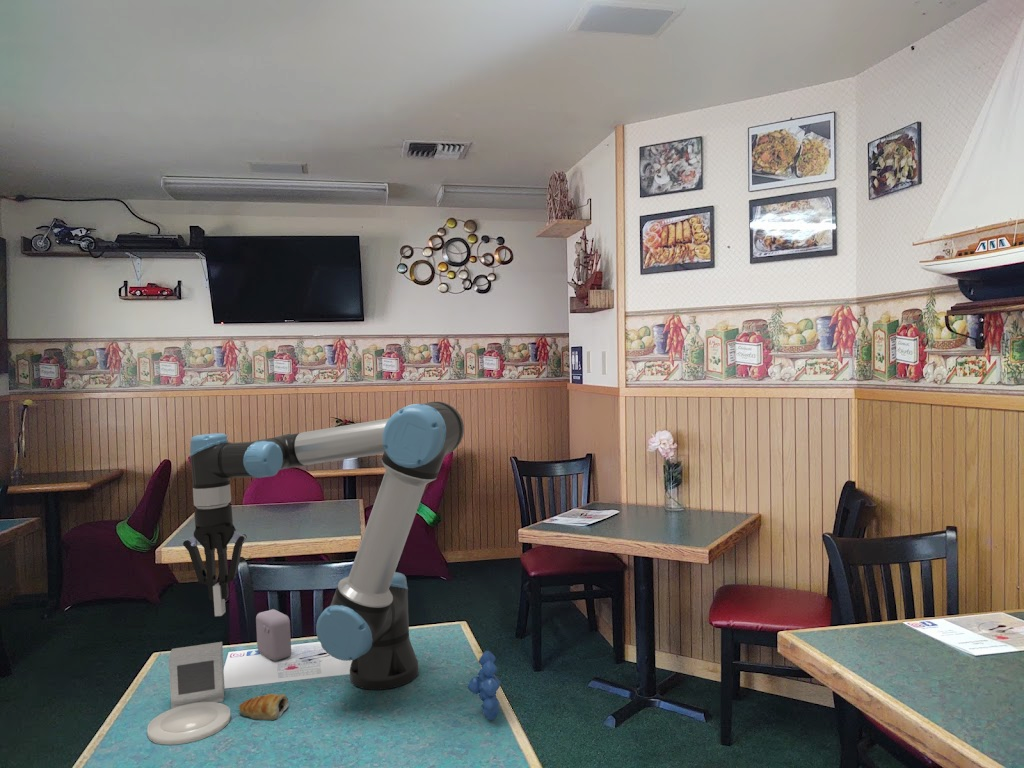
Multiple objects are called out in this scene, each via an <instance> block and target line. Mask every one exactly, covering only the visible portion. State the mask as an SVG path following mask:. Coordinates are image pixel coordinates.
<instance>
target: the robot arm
mask: <svg viewBox="0 0 1024 768" xmlns="http://www.w3.org/2000/svg"><path fill="white" fill-rule="evenodd" d="M464 425H465V424H464V420H463V418H462V416H461V414H460V413H459V411H458V410H457V409H456V408H455V407H453V406H452V405H450V404H448V403H446V402H443V401H430V402H426V403H413V404H409V405H407V406H403V408H401V409H398V410H397V411H395V412H394V413H393V414H392V415H391V416H390V417H389V418H384V419H377V420H371V421H364V422H358V423H351V424H347V425H340V426H339V425H338V426H333V427H328V428H321V429H316V430H310V431H303V432H298V433H296V432H295V433H287V434H282V435H279V436H274V437H268V438H265V439H263V438H262V439H258V440H253V441H242V442H241V441H240V442H230V441H229V440H228V435H226V434H225V433H223V432H221V433H219V432H216V433H206V434H205V433H204V434H203V433H202V434H198V435H194V436H193V437H191V438H190V443H189V445H190V447H189V449H190V450H189V451H190V453H189V458H190V459H189V460H190V467H191V475H192V476H191V477H192V497H193V506H194V507H196V508H194V524H195V529H194V530H193V534H192V535H193V536H191V537H189V538H187V539H186V540H184V541H183V543H182V545H183V546H184V548H185V549H186V550H187V552H188V554H189V557H190V560H191V562H192V563H191V564H192V566H193V567H192V568H193V571H194V572H195V575H196V578H197V581H198V583H199V584H204V585H206V586H207V587H208V588H207V591H208V599H209V601H213V608H214V609H213V611H214V617H222V616H223V615H224V614H225V613H226V600H227V599H228V598H229V596H230V593H229V591H230V590H229V583H230V582H233V581H234V580H235V579H236V578H238V577H237V576H238V572H239V566H240V562H241V555H242V550H243V545H244V543H245V541H246V540H247V538H248V537H247V534H245V533H244V534H243V533H242V534H241V533H240V532H238V531H236V530H237V529H236V527H235V525H234V523H233V521H234V520H233V507H232V505H231V504H229V503H231V502H232V495H231V494H232V493H231V491H232V490H231V478H256V479H262V478H267V477H274V476H276V475H277V474H278V472H279V471H280V470H285V469H291V468H298V467H303V466H308V465H309V466H310V465H316V464H321V463H323V464H324V463H330V462H337V461H344V460H349V459H357V458H364V457H370V456H378V455H382V457H381V459H380V460H381V463H382V465H383V467H384V469H385V471H384V474H383V478H382V481H381V484H380V487H379V489H378V492H377V495H376V497H375V500H374V503H373V507H372V509H371V512H370V515H369V518H368V520H367V524H366V527H365V528H364V532H363V534H362V538H361V541H360V543H359V546H358V549H357V552H356V554H355V558H354V561H353V563H352V566H351V569H350V572H349V575H347V576H346V577H344V578H342V579H340V580H339V581H338V583H337V586H336V589H335V592H334V595H333V597H332V600H331V603H330V605H329V606H327V607H325V609H324V610H323V611H322V612H321V613H320V615H319V616H318V618H317V621H316V625H315V627H316V628H315V631H316V632H315V633H316V637H317V640H318V641H319V643H320V644H321V647H322V649H323V650H324V651H325V652H326V653H327V654H328V655H329V656H331V657H332V658H334V659H337V660H339V661H344V662H346V661H348V662H349V661H350V662H351V664H350V667H349V680H350V683H351V684H352V685H354V686H355V687H357V688H360V689H365V690H387V689H392V688H397V687H401V686H403V685H405V684H408V683H411V681H413V680H415V679H416V678H417V676H418V675H419V661H418V658H417V655H416V652H415V650H414V648H413V644H412V642H411V639H410V630H409V629H410V627H409V625H410V623H409V598H408V597H409V594H408V593H409V592H408V591H409V587H408V583H407V576H405V574H404V573H401V572H398V571H396V570H397V567H398V564H399V561H400V560H401V556H402V554H403V551H404V547H405V545H406V542H407V539H408V536H409V534H410V531H411V528H412V526H413V523H414V520H415V517H416V514H417V511H418V509H419V506H420V503H421V501H422V497H423V495H424V493H425V489H426V486H427V484H429V483H431V482H433V481H435V480H437V478H438V475H439V472H440V470H441V467H442V464H443V462H444V460H445V459H444V458H445V456H447V455H448V454H449V455H450V454H451V453H453V452H454V451H455V450H456V449H457V448H458V447H459V446H460V444H461V443H462V440H463V438H464V434H465V426H464ZM232 538H233V540H232ZM231 540H232V541H233V543H234V546H233V549H232V555H231V560H230V567H228V565H229V564H228V545H229V543H230V541H231ZM198 543H199V544H200V545H201V547H202V548H203V549H204V550H203V552H204V553H203V554H204V556H205V564H204V562H203V559H202V555H201V553H200V550H199V547H198ZM215 551H216V553H217V562H218V578H219V582H217V581H218V578H217V569H216V554H215ZM205 567H206V568H205Z"/></svg>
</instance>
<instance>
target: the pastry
mask: <svg viewBox="0 0 1024 768" xmlns="http://www.w3.org/2000/svg"><path fill="white" fill-rule="evenodd" d="M288 708H289V700H288V698H287V695H286V694H284V693H283V694H275V693H267V694H264V695H263V694H261V695H259V696H255V697H253V698H249V699H247V700H245V701H243V702H242V703H240V704H239V705H238V710H239V712H240V713H241V715H242V716H243V717H248V718H250V719H252V720H260V721H261V720H262V721H274V720H277V719H279V718H280V717H281V716H282V715H283V713H284V711H286V710H287V709H288Z"/></svg>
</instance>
